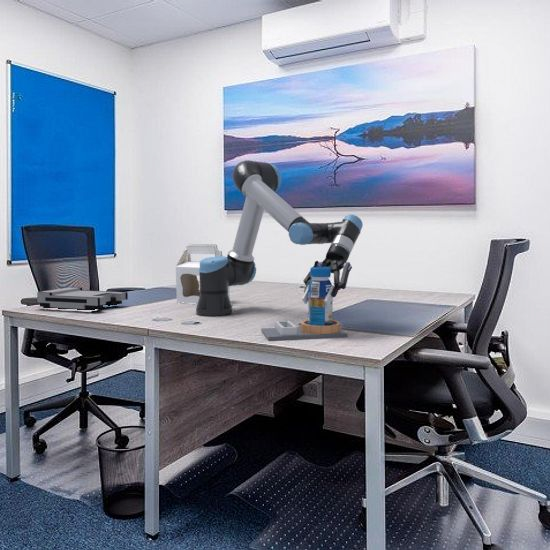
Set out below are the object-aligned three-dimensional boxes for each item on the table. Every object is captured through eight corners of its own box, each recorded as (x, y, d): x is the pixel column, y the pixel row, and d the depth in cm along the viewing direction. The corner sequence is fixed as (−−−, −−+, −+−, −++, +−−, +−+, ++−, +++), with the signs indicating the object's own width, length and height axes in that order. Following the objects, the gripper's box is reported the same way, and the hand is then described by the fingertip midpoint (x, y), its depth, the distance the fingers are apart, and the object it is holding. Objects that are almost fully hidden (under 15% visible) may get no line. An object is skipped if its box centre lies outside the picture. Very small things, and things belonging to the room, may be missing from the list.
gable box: (176, 303, 244) (174, 244, 241) (192, 299, 255) (191, 243, 253) (215, 305, 234) (214, 244, 231) (230, 302, 246) (229, 243, 243)
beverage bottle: (304, 325, 174) (304, 266, 172) (327, 323, 176) (327, 266, 174) (312, 330, 166) (312, 268, 164) (337, 328, 168) (337, 268, 166)
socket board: (268, 340, 161) (268, 329, 160) (261, 331, 174) (261, 321, 174) (347, 336, 165) (347, 325, 165) (334, 328, 179) (334, 318, 179)
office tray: (98, 314, 214) (97, 295, 213) (37, 310, 224) (37, 292, 224) (127, 307, 233) (127, 289, 233) (71, 304, 244) (70, 287, 243)
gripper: (370, 259, 175) (347, 312, 164) (318, 257, 187) (293, 306, 176) (363, 244, 170) (339, 297, 159) (310, 243, 182) (284, 293, 171)
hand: (315, 302), depth 167 cm, fingers closed on beverage bottle, 8 cm apart
